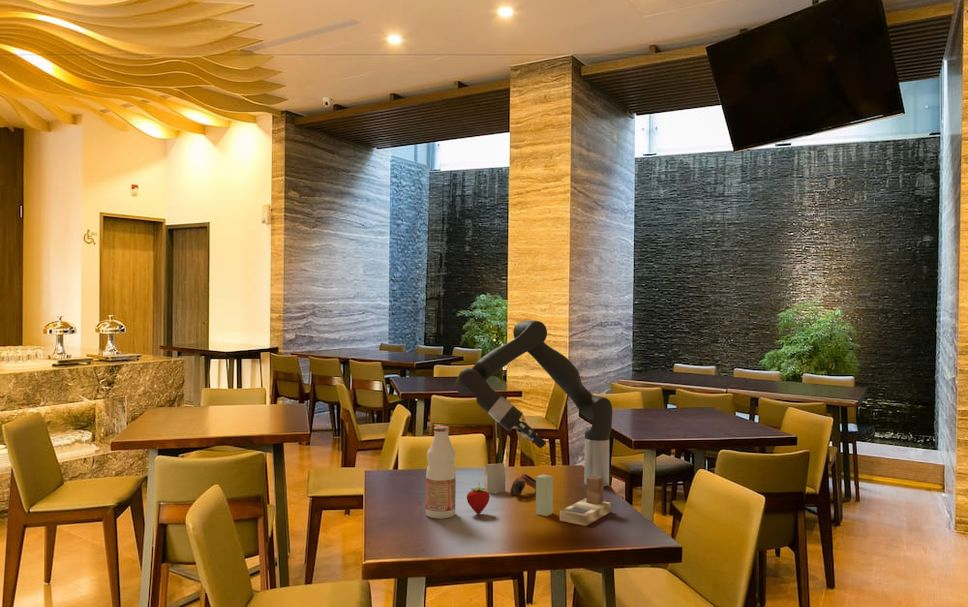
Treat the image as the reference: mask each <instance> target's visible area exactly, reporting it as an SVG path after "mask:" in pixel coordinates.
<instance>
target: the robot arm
mask: <svg viewBox="0 0 968 607" xmlns="http://www.w3.org/2000/svg"><path fill="white" fill-rule="evenodd" d="M512 333H513V334H512V335H513V338H514V339H512V340H510V341H509V342H507V343H505V344H503V345H501V346H498V347H496V348H494V349H493V350H491V351H489V352H488V353H486V354H485V355H484V356H482V357H481V358H479V359H478V360H477V361H476V362H475V363H474V365H473V366H472V367H471V368H470V367H469V368H468V367H467V368H464V369H462V370H461V371H460V372H459V373H458V376H457V378H456V381H455V384H454V388H455V390H456V391H457V392H458V394H459V395H462V396H468V395H471V394H472V395H473V396H474V397H475V399H476V404H477V405H478V406H479V407H480V408H482V409H483V410H484V411H485V412H486V413H487V414H489V415H490V417H491V418H492V419H493V420H495V421H496V422H497V423H498V424H499V425H500V426H502V428H504V430H506V431H507V432H510V431H511V430H512V429H513V428H515V430H516V432H517V433H518V434H519V435H521V436H522V437H523V438H524V439H526V440H528V441H529V442H531V443H533V444H534V445H535V446H536V447H537V448H539V449H542V448H543V447H545V445H546V444H547V441H546V440H545V439H544V438H542V437H541V436H540V435H539V434H538V433H537V431H536V430H535V429H534V428H533V427H531V425H529V424H528V422H526V421H524V420H520V419H521V418H522V416H523V412H522V411H520V410H519V409H518V408H517V407H516V406H515V405H514V404H512V403H511V402H510V401H509V400H507V399H506V398H504V397H503V396H502V395H501V394H499V393H498V392H497V391H495V390H494V389H493V388H492V387H491V386H490V384H489V383H488V382H487V380H488V379H489V378H491V377H493V376H494V375H495V374H497V373H498V372H499V371H500V370H502V369H503V368H504V367H505V366H507V365H509V364H510V363H511V362H513V361H515V359H518V358H519V357H520V356H522V355H524V354H526V353H528V354H529V355H530V356H531V357H532V358H533V359H534V360H535V361H536V362H537V363H538V364H539V366H541V367H542V369H543V370H544V371H545V372H546V373H547V374H548V376H549V377H550V378H551V379H552V380H553V381H554V383H556V385H557V386H559V388H561V390H562V391H563V392H564V393H565V394H566V395H567V396H568V397H569V398H570V400H571V401H572V402H573V404H574V405H575V406H576V408H577V409H578V410H579V412H580V413H581V415H582V416H583V417H584V418H586V419H588V420H589V421H590V420H591V421H592V422H591V427H590V428H589V429H586V430H585V431H584V471H583V473H584V474H583V475H584V479H583V480H584V485H586V483H587V478H588V477H590V476H597V477H603V488H604V487H607V486H610V435H611V432H612V426H613V406H612V402H611V400H610V399H608V398H607V397H604V396H598V395H594V394H592V392H590V390H588V389H587V388H586V387H585V385H584V384H583V383H582V378H581V374H580V372H579V370H578V369H577V367H576V366H575V365H574V364H573V363H572V361H570V360H569V359H568V357H566V356H565V355H564V354H562V353H561V352H560V351H558V350H556V349H555V348H552V347H551V346H549V344H547V343H546V342H545V341H546V339H547V336H548V329H547V327H546V325H545V324H544V323H543V322H542V321H539V320H524V321H523V320H522V321H519V322H517V323H516V324H515V325H514V327H513V330H512Z"/></svg>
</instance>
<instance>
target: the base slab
mask: <svg viewBox="0 0 968 607" xmlns="http://www.w3.org/2000/svg"><path fill="white" fill-rule="evenodd" d="M585 486H586V494H585V495H586V497H585V498H583V499H582V500H579V501H577V502H575V503H573V504H571V505H568V506H567V507H565V508H562V509H561V510H559V521H560V522H565V523H566V522H567V523H571V524H576V525H580V526H584V527H586V526H588V525H590V524H591V523H593V522H596V521H597V520H599V519H600V518H602V517H604V516H607V515H608V514H609V513H611V507H612V506H611V505H612V504H611V502H608V501H604V487H603V477H597V476H590V477H588V478H587V483H586V484H585Z"/></svg>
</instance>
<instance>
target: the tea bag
mask: <svg viewBox="0 0 968 607" xmlns="http://www.w3.org/2000/svg"><path fill="white" fill-rule="evenodd" d="M505 469H506V468H505V463H487V464H485V470H484V489H486V490H484V491H487V492H488V493H490V494H496V493H495V492H505V493H506V471H505Z"/></svg>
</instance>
